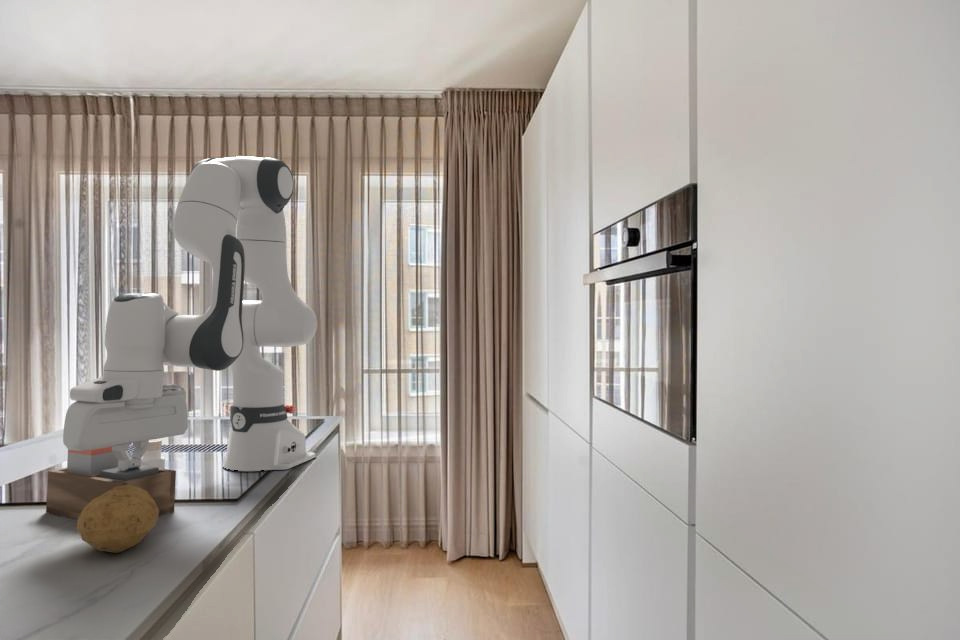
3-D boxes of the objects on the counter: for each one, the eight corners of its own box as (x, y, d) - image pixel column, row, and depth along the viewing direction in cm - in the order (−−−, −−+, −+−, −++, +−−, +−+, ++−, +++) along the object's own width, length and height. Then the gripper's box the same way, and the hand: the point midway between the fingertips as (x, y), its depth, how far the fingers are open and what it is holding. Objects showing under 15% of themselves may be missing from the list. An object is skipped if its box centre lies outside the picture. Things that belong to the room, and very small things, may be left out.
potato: (61, 572, 74) (64, 509, 74) (90, 535, 87) (92, 482, 87) (147, 563, 77) (150, 503, 78) (163, 529, 90) (165, 478, 91)
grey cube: (132, 498, 101) (134, 463, 101) (157, 502, 98) (158, 467, 99) (99, 507, 95) (100, 470, 95) (124, 512, 93) (125, 474, 93)
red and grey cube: (100, 473, 104) (102, 440, 104) (123, 477, 102) (125, 443, 102) (66, 481, 98) (68, 446, 99) (89, 485, 96) (91, 449, 96)
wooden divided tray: (104, 497, 106) (105, 459, 107) (174, 511, 100) (175, 470, 100) (46, 512, 97) (48, 470, 97) (119, 528, 90) (121, 483, 91)
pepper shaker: (136, 488, 113) (138, 440, 113) (159, 485, 116) (161, 438, 116) (141, 492, 110) (143, 443, 110) (164, 489, 113) (166, 441, 113)
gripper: (173, 382, 108) (169, 456, 108) (59, 390, 89) (54, 479, 89) (198, 384, 106) (194, 459, 105) (86, 392, 87) (81, 484, 86)
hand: (129, 469), depth 97 cm, fingers closed
